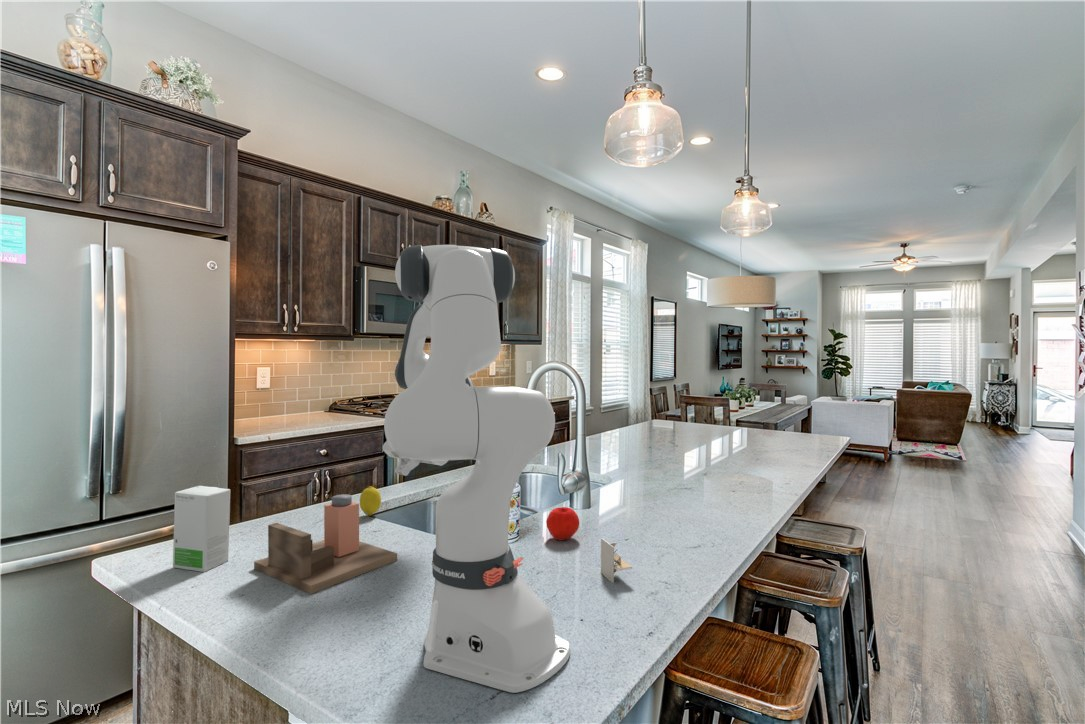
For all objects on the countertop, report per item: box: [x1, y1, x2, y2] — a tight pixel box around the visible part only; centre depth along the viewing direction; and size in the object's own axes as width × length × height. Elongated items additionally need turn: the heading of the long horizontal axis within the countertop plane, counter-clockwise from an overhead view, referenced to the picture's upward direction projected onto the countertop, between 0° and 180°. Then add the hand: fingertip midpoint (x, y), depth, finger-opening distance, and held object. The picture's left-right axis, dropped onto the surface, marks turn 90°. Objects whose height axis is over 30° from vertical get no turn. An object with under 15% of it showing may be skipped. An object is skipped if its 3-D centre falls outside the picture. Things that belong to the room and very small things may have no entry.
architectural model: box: [600, 537, 633, 584], centre depth 109 cm, size 3×7×7 cm, turn 19°
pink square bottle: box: [323, 493, 360, 557], centre depth 118 cm, size 5×5×12 cm
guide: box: [253, 522, 398, 595], centre depth 115 cm, size 20×20×10 cm
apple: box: [545, 506, 580, 541], centre depth 131 cm, size 8×8×7 cm
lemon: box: [359, 485, 382, 517], centre depth 149 cm, size 6×6×8 cm
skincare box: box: [172, 485, 231, 573], centre depth 114 cm, size 8×7×16 cm
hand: (400, 473), depth 130 cm, fingers closed
